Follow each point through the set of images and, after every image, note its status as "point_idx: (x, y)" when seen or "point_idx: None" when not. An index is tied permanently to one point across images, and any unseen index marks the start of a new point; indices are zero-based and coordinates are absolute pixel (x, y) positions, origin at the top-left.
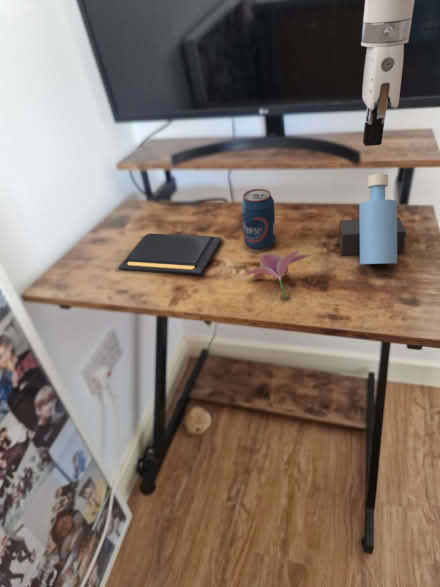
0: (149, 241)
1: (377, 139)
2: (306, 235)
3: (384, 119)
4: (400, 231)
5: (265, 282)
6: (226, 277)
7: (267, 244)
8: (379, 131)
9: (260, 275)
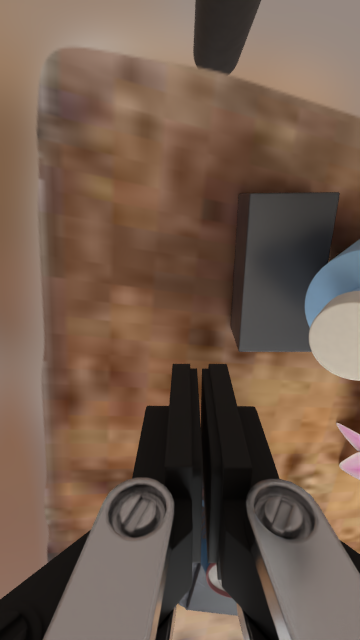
0: (217, 606)
1: (255, 414)
2: (198, 385)
3: (333, 536)
4: (333, 209)
5: (351, 450)
6: (322, 499)
7: None
8: (268, 451)
9: (349, 465)
